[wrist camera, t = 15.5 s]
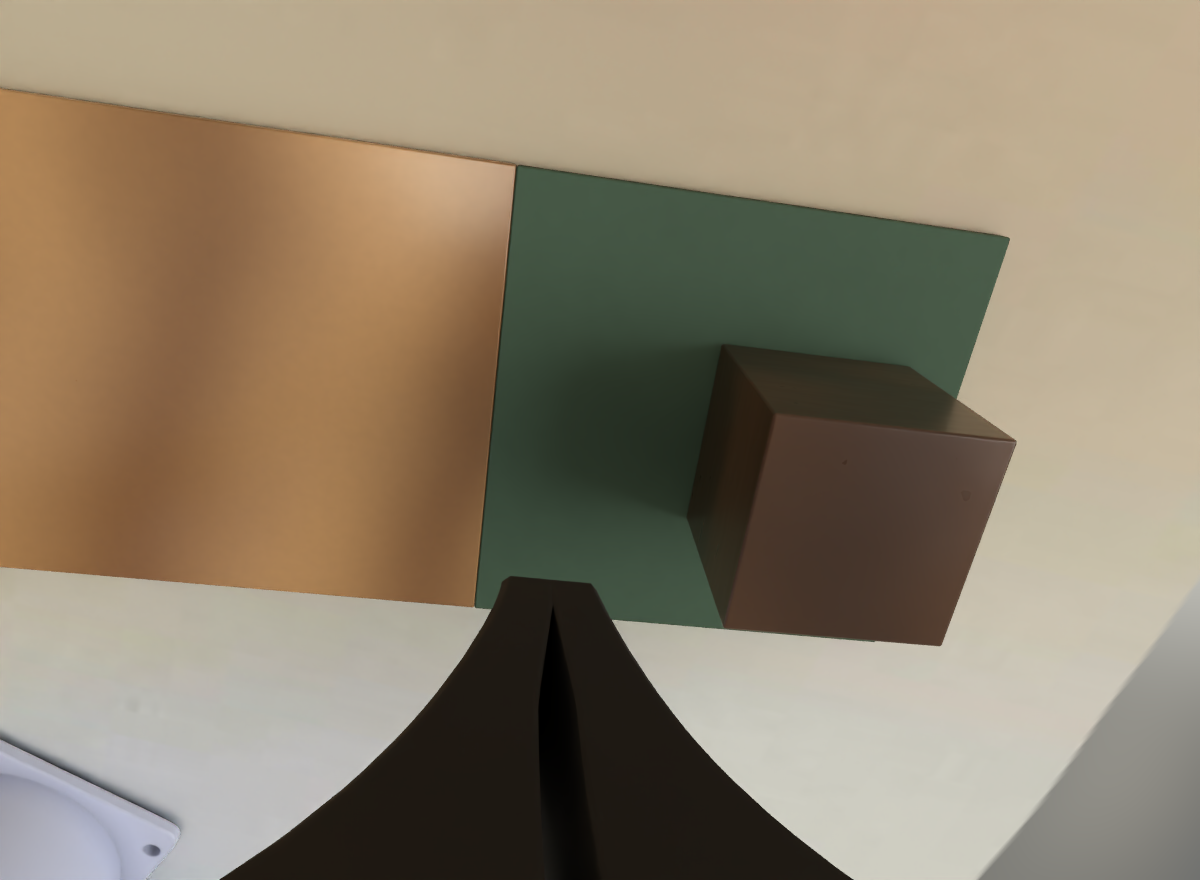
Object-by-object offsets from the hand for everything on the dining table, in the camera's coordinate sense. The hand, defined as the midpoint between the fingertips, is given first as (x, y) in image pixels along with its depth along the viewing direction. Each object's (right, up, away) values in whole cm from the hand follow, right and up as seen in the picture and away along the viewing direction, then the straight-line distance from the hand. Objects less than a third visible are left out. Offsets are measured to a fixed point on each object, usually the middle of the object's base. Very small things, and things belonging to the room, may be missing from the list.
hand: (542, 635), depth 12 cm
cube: (+6, +3, +9) cm, 11 cm away
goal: (+4, +3, +9) cm, 10 cm away
